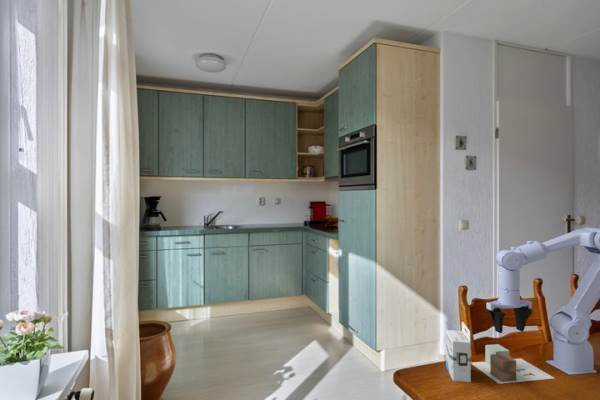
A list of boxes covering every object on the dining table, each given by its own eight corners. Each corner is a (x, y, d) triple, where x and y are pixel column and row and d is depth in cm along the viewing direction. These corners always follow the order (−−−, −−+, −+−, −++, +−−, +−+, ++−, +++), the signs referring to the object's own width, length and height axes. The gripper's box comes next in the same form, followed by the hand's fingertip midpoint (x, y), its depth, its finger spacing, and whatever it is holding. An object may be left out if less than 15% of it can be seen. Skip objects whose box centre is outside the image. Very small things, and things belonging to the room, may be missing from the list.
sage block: (498, 361, 104) (498, 344, 104) (509, 368, 99) (509, 350, 99) (485, 362, 103) (485, 345, 103) (496, 369, 99) (496, 351, 99)
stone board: (520, 359, 106) (520, 358, 106) (555, 379, 94) (555, 378, 94) (470, 364, 103) (470, 362, 103) (498, 385, 91) (498, 383, 91)
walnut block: (504, 371, 98) (503, 353, 98) (516, 379, 93) (516, 360, 93) (490, 373, 97) (490, 354, 97) (502, 381, 92) (502, 361, 92)
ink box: (445, 367, 101) (445, 319, 101) (462, 368, 100) (462, 320, 100) (452, 382, 93) (452, 330, 93) (471, 384, 92) (471, 331, 92)
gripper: (519, 284, 109) (519, 325, 109) (479, 286, 107) (479, 327, 107) (537, 289, 102) (537, 333, 102) (495, 292, 100) (495, 336, 100)
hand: (509, 331), depth 104 cm, fingers open, 7 cm apart
